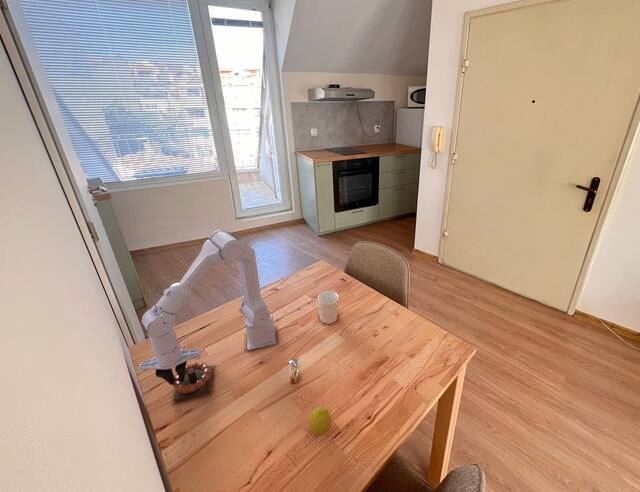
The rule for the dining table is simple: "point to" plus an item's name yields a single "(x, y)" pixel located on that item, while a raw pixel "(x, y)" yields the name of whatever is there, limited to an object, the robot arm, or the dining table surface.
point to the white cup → (328, 306)
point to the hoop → (193, 387)
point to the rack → (190, 379)
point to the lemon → (320, 421)
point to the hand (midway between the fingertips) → (177, 380)
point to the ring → (295, 364)
